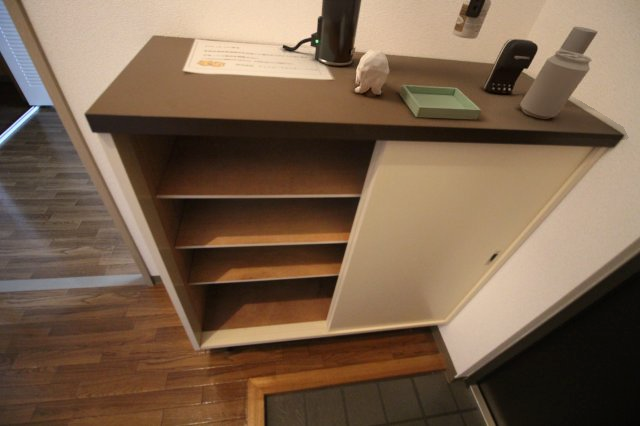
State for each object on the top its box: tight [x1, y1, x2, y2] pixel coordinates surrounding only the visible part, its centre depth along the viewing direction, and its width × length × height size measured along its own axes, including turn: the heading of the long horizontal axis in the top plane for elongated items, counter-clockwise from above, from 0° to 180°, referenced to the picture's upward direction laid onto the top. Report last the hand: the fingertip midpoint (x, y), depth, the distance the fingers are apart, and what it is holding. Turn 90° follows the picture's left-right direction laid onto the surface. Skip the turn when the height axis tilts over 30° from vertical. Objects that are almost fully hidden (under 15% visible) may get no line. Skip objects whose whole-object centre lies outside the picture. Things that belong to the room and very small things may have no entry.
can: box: [520, 50, 593, 120], centre depth 60 cm, size 8×8×12 cm
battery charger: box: [483, 38, 539, 95], centre depth 67 cm, size 7×4×11 cm, turn 92°
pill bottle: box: [452, 0, 492, 40], centre depth 49 cm, size 4×4×8 cm
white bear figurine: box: [354, 49, 390, 96], centre depth 62 cm, size 6×8×12 cm
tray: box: [399, 84, 482, 121], centre depth 60 cm, size 13×11×2 cm
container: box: [558, 26, 598, 55], centre depth 65 cm, size 5×5×15 cm
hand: (472, 14), depth 50 cm, fingers closed on pill bottle, 4 cm apart
